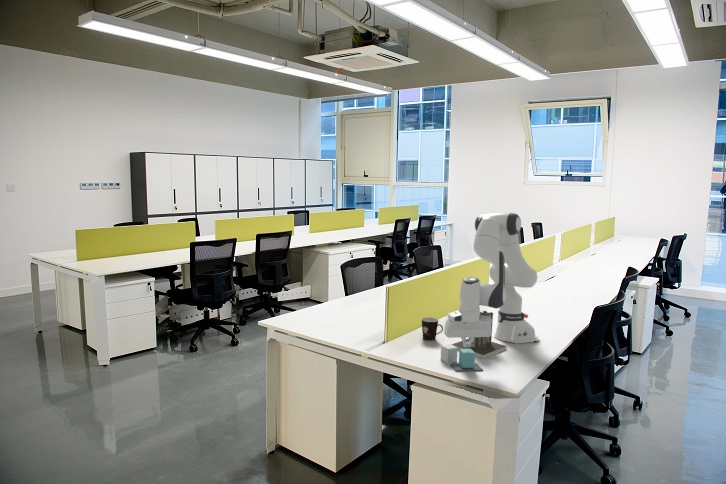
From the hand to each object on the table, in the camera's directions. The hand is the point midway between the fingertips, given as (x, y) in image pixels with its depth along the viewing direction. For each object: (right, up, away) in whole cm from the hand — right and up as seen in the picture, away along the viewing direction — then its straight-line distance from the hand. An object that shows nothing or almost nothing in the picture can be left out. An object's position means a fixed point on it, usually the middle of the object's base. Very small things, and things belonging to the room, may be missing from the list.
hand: (467, 346), depth 213 cm
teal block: (0, -8, +1) cm, 9 cm away
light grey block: (-6, -8, +9) cm, 14 cm away
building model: (+12, -7, +26) cm, 30 cm away
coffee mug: (-10, -5, +39) cm, 41 cm away
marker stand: (0, -9, +1) cm, 10 cm away
